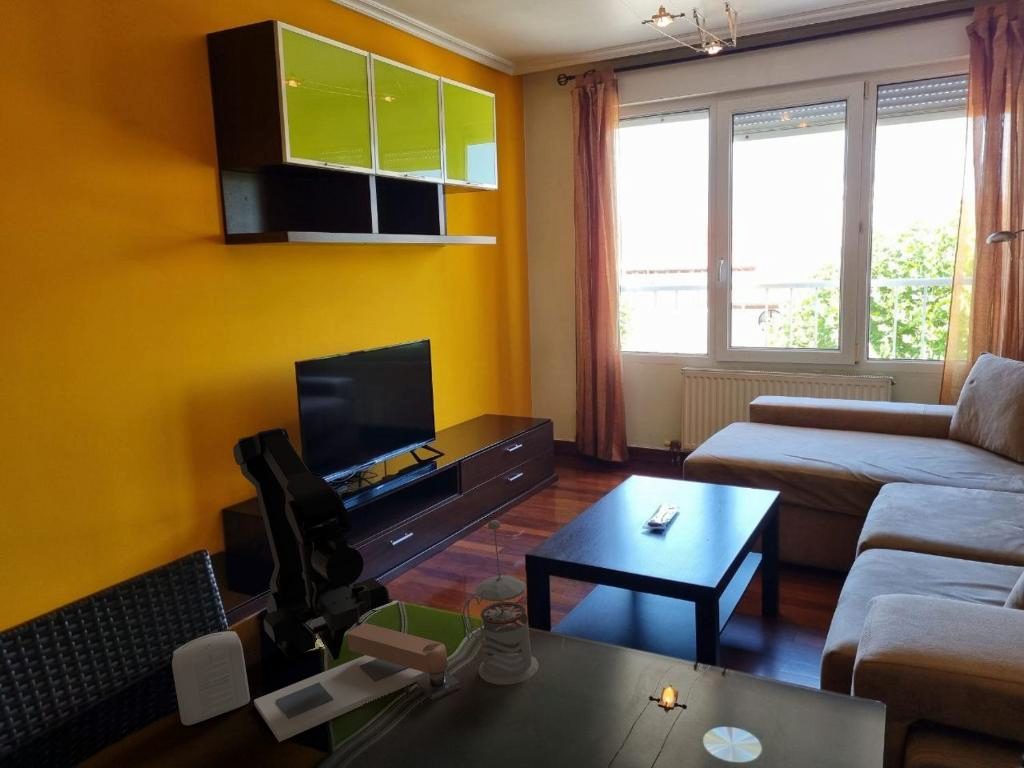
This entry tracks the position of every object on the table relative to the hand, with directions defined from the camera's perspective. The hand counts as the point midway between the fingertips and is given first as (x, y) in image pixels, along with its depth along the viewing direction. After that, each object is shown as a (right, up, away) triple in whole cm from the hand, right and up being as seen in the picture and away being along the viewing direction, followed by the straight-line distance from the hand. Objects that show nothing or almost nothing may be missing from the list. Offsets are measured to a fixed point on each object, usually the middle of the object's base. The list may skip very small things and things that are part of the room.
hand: (335, 658), depth 119 cm
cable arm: (+10, 0, +2) cm, 10 cm away
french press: (+27, -2, +2) cm, 27 cm away
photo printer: (-18, -7, -2) cm, 19 cm away
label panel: (+2, -5, 0) cm, 5 cm away
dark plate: (+17, -4, -2) cm, 17 cm away
